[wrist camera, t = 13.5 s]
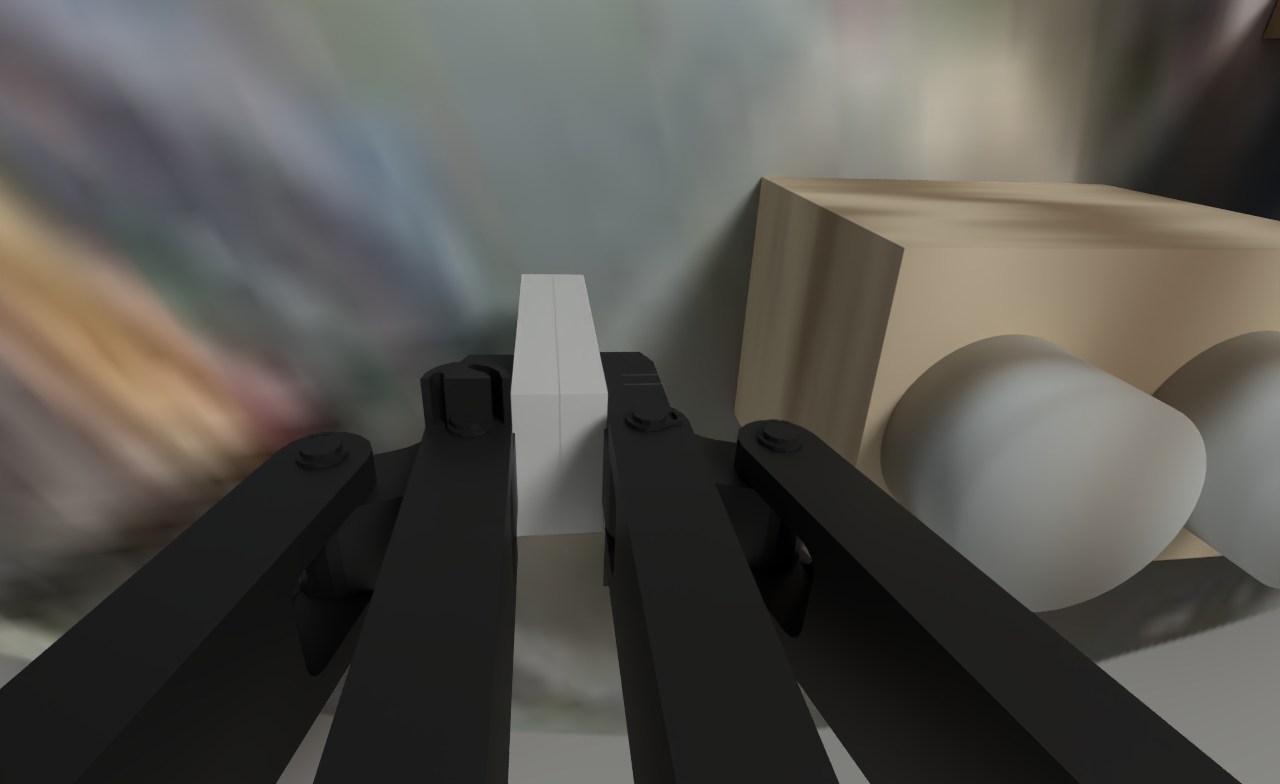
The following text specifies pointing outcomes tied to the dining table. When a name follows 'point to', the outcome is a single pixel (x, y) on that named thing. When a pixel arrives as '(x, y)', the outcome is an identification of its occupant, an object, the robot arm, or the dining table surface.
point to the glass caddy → (1030, 368)
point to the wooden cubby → (1274, 24)
